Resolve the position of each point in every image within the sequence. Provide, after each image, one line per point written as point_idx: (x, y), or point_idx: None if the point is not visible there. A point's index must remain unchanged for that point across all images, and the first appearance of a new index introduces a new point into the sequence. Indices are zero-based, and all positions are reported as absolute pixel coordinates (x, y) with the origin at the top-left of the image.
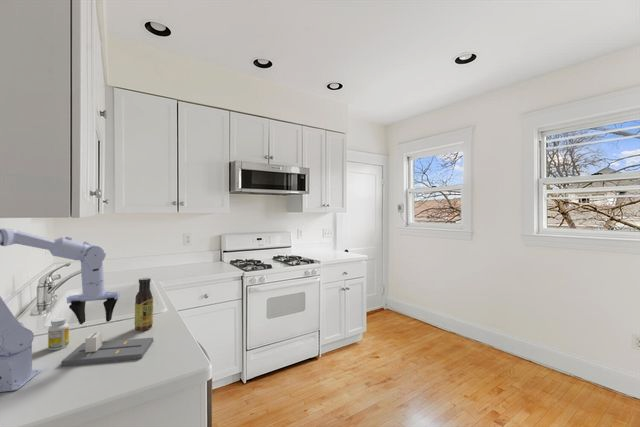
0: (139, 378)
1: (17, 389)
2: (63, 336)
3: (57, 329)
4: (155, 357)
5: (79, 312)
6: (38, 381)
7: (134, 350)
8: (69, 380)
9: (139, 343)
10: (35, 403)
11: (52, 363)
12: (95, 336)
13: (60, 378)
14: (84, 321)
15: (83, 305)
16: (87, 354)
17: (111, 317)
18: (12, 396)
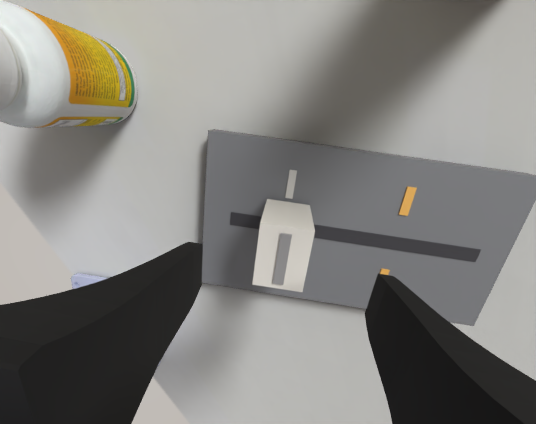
0: None
1: (160, 361)
2: (96, 110)
3: (32, 124)
4: (510, 321)
5: (146, 382)
6: (187, 337)
7: (447, 289)
8: (267, 360)
9: (471, 230)
10: (233, 419)
11: (166, 242)
12: (295, 277)
13: (238, 342)
14: (200, 255)
15: (108, 359)
16: None
17: (401, 284)
18: (166, 379)
